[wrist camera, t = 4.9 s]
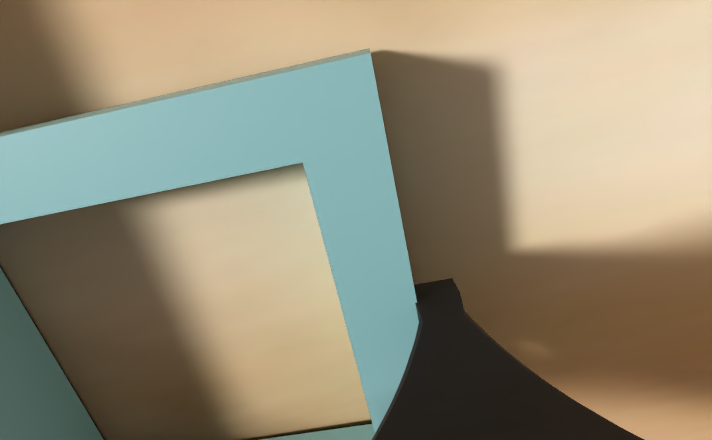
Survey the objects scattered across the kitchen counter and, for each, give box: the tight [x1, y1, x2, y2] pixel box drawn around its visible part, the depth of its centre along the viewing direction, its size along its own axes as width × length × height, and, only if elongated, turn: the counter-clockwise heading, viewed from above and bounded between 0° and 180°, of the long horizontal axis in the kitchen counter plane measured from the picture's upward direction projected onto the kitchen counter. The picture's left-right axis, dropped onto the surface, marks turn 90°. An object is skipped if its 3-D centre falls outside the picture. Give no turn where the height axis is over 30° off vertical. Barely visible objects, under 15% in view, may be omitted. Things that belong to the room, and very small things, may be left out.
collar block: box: [0, 49, 419, 440], centre depth 11 cm, size 12×12×2 cm
